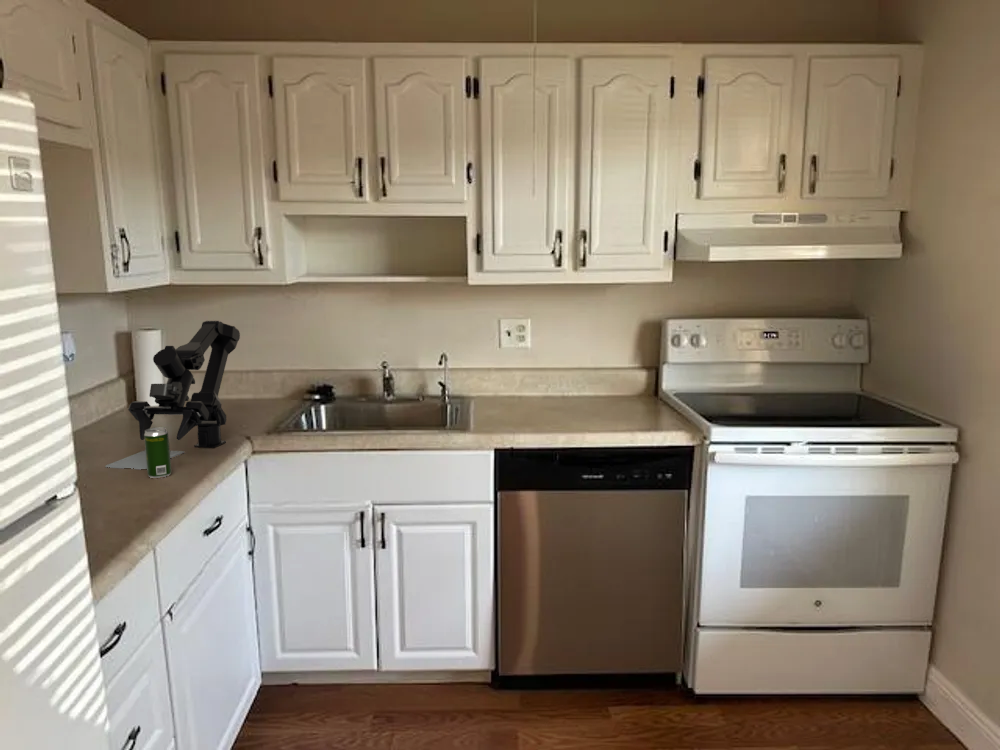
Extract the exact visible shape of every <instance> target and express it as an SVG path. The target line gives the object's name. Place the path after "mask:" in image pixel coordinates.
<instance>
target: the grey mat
mask: <svg viewBox="0 0 1000 750" xmlns="http://www.w3.org/2000/svg"><path fill="white" fill-rule="evenodd" d="M184 452H185V451H184V450H183V451H182V450H170V458H172V457H175V456H177V455H179V456H181V455H180V454H182V453H184ZM185 453H186V452H185ZM185 453H184V454H185ZM182 455H183V454H182ZM177 457H178V456H177ZM175 458H176V457H175ZM172 459H173V458H172ZM107 467H108V468H109V467H110V469H124V468H131V469H130V470H141V469H147V462H146V451H145V449H144V450H142V451H139V452H137V453H134V454H132V455H129V456H126V457H125V458H121V459H119V460H116V461H114V462H112V463H111V462H110V463H108V464H106V465H105V468H107ZM133 468H134V469H133Z"/></svg>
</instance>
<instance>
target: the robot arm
mask: <svg viewBox="0 0 1000 750" xmlns="http://www.w3.org/2000/svg"><path fill="white" fill-rule="evenodd" d="M240 339H241V333H240V331H239V329H238V328H236V326H235V325H230V324H226V323H224V322H222V321H220V320H205V321H202V323H201V326H200V328H199V329H198V331H197V332H196V333H195V334H194V335H193V337H192V338H191V339H190V340H189V341H188V342H187V343H185V344H183V345H179V346H178V347H177V348H175V346H174V345H165V347H164V348H163V349H161V350H159V351H158V352H156V353H155V354H153V358H152V360H153V363H154V364H155V366H156V367H157V369H158V370H159V371H160V373H161V374H162V376H163V377H164V378H167V381H166V383H151V384H150V389H149V398H154V402H155V404H157V405H158V406H156V405H155V406H151V405H150V404H149V402H148V401H147V400H146V401H141V400H140V401H136V400H135V401H132V402H130V404H129V405H128V408H127V410H128V411H129V412H130V414H131V415H132V416H133V418H135V420H136V421H138V424H139V425H138V427H139V438H140V440H141V441H145V440H144V434H145V430H146V429H150V428H152V426H153V425H152V424H153V423H154V422H153V421H152V420H154V417H155V415H169V416H173V415H174V416H182V420H181V422H180V425H179V428H178V430H177V433H176V434H177V435H176V439H177V441H181V440H182V438H184V437H185V436H186V435H187V434H188V433H189V432H190V431H191V430H193V428H195V427H197V443H196V444H194V448H208V449H210V448H212V449H215V448H216V447H219V446H221V445H223V444H225V443H227V441H226V440H222V433H221V426H225V425H226V424H227V414H226V412H225V411H224V410H223V408H222V403H221V400H220V398H219V392H220V388H221V385H222V381H223V377H224V374H225V369H226V364H227V361H228V356H229V355H230V354H231V353H232V352H233V351H234V350H235V349H236V347H237V345H238V342H239V341H240ZM209 347H210V348H211V351H210V355H209V358H208V362H207V365H206V370H205V374H204V377H203V381H202V385H201V389H200V390H199V391H198V392H193V393H191V398H190V396H189V395H188V394H189V391H190V388H191V385H195V384H196V379H195V378H194V374H193V373H192V372H191V371H199V370H200V369H201V368H202V366H203V365H204V362H205V356H204V355H205V354H206V352H207V350H208V349H209ZM189 399H190V401H189Z"/></svg>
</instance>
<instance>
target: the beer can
mask: <svg viewBox="0 0 1000 750" xmlns="http://www.w3.org/2000/svg"><path fill="white" fill-rule="evenodd" d="M169 440H170V439H169V432H168V429H167V428H166V427H162V426H161V427H159V426H158V427H157V426H156V427H150V429H146V430H145V434H144V440H143V441H144V448H145V449H144V450H145V451H146V462H147V470H146V471H147V476H148V477H150V479H151V478H160V477H165V478H167V477H166V476H168V477H170V476H171V474H172V463H171V459H170V451H171V450H170V442H169ZM169 475H170V476H169Z"/></svg>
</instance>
